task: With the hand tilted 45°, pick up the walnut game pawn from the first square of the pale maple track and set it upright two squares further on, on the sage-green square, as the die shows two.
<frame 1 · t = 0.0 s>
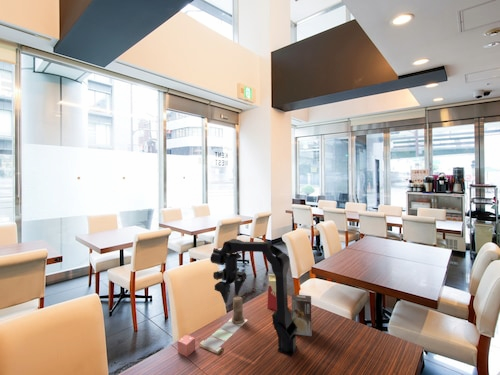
hand: (231, 298, 121), 15 cm above the table, tool pointing down, fingers open, 9 cm apart
pawn: (237, 320, 127), point 1 cm above the table, touching board
coffee box: (301, 331, 120), on the table
milk carton: (276, 308, 141), on the table
die: (186, 351, 107), on the table
board: (226, 333, 118), on the table
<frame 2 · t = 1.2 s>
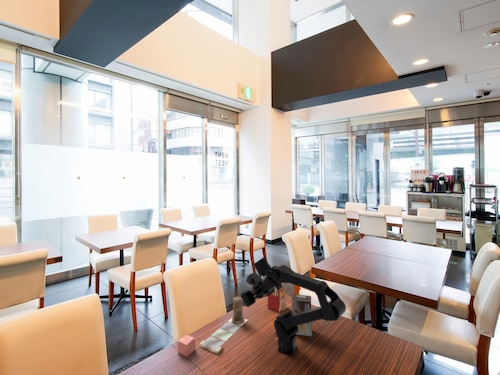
hand: (249, 301, 121), 13 cm above the table, tool tilted 45°, fingers open, 9 cm apart
nothing on the table moved.
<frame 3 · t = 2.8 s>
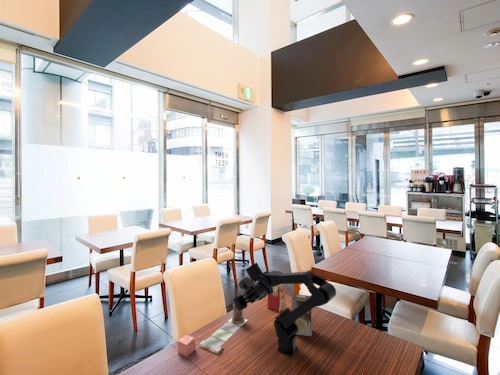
hand: (241, 305, 125), 10 cm above the table, tool tilted 45°, fingers open, 9 cm apart
nothing on the table moved.
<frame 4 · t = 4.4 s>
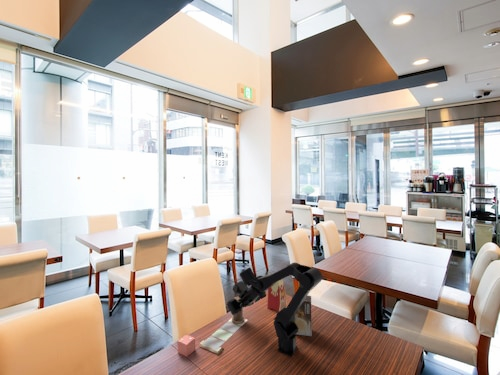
hand: (235, 308, 127), 7 cm above the table, tool tilted 45°, fingers closed on pawn, 5 cm apart
pawn: (237, 320, 127), point 1 cm above the table, touching board, gripper
everything else where it was.
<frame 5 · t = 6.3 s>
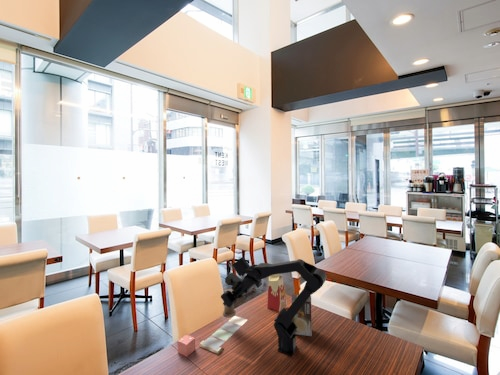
hand: (226, 302, 122), 13 cm above the table, tool tilted 45°, fingers closed on pawn, 5 cm apart
pawn: (229, 314, 121), point 7 cm above the table, touching gripper
everything else where it was.
when the fingers open (8 cm above the table, at t = 8.4 s): pawn drops 1 cm, resting on board.
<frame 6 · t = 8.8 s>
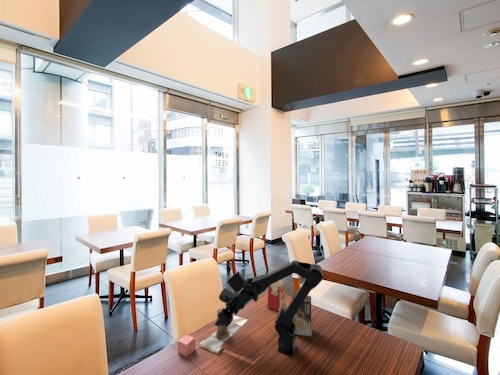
hand: (219, 319, 116), 8 cm above the table, tool tilted 45°, fingers open, 8 cm apart
pawn: (222, 334, 116), point 1 cm above the table, touching board
everything else where it was.
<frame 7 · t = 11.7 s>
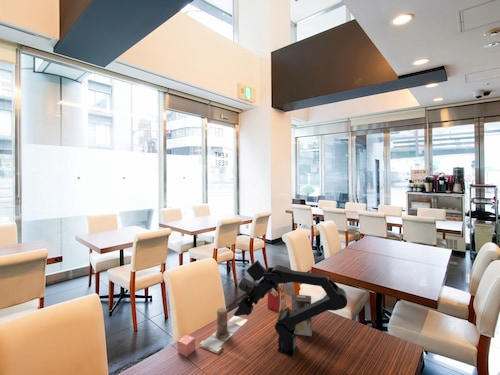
hand: (238, 310, 113), 14 cm above the table, tool tilted 45°, fingers open, 9 cm apart
nothing on the table moved.
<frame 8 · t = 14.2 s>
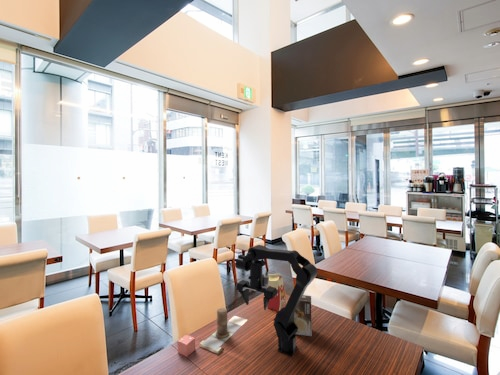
hand: (256, 307, 117), 13 cm above the table, tool pointing down, fingers open, 9 cm apart
nothing on the table moved.
at the end: pawn 0.0 cm from the target spot on the board, point 1.3 cm above the board's base; pawn tilted 0°; the gripper is holding nothing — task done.
